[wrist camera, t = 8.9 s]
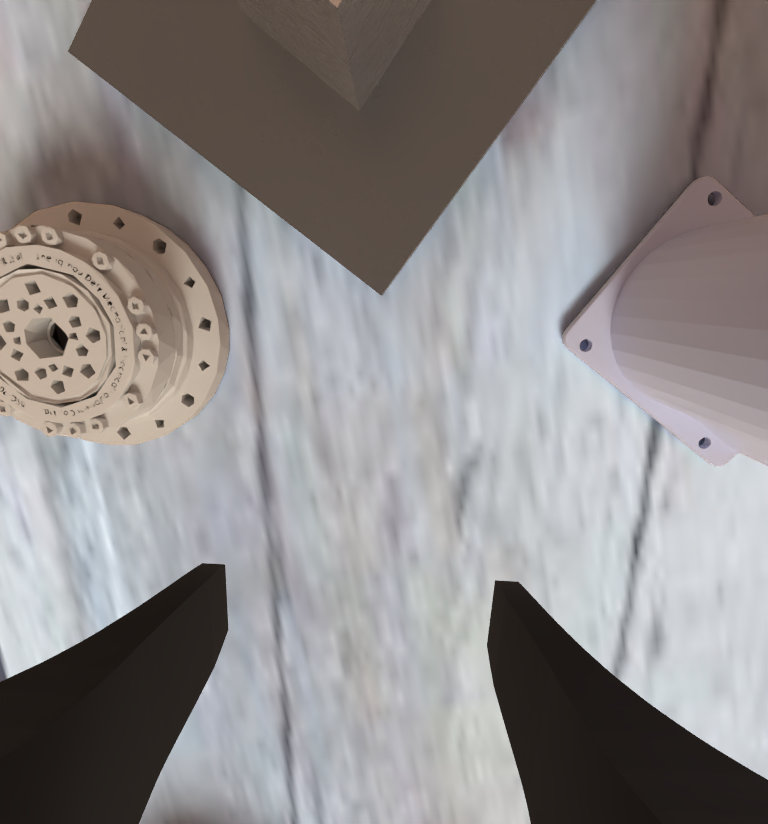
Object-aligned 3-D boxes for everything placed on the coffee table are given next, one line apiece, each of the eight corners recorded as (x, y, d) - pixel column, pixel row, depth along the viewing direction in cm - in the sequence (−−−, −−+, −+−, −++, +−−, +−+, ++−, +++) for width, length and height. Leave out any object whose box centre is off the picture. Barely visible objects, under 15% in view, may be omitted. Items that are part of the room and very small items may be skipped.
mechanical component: (212, 198, 18) (-19, 217, 19) (155, 169, 14) (-141, 194, 15) (247, 429, 21) (42, 441, 21) (208, 463, 17) (-46, 478, 17)
